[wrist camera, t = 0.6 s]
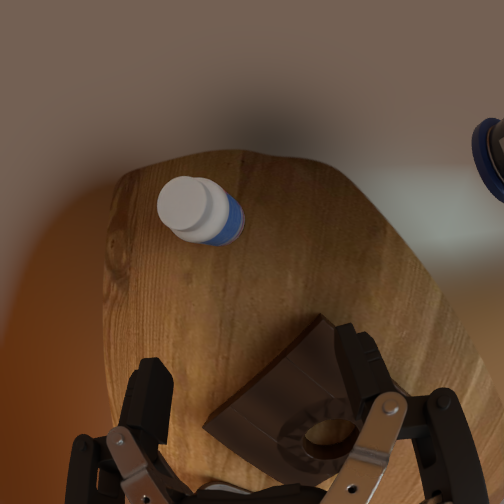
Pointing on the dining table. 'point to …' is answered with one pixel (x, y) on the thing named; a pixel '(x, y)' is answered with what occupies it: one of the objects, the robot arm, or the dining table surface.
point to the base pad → (291, 411)
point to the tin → (223, 487)
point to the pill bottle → (200, 211)
